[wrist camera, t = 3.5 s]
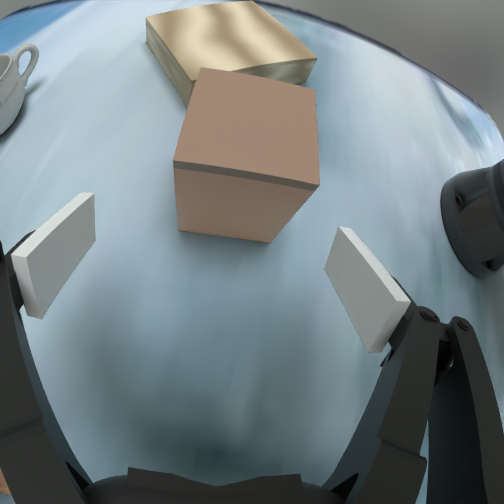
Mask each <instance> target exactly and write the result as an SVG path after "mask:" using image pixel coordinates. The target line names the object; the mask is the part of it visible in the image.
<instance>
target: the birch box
mask: <svg viewBox="0 0 504 504" xmlns="http://www.w3.org/2000/svg"><path fill="white" fill-rule="evenodd" d="M146 38H147V44H148V45H149V47H150V48H151V50H152V51H153V53H154V55H155V56H156V58H157V59H158V61H159V62H160V64H161V66H162V67H163V69H164V70H165V72H166V74H167V75H168V77H169V78H170V80H171V81H172V83H173V85H174V86H175V88H176V89H177V91H178V93H179V94H180V96H181V97H182V99H183V101H184V102H185V104H186V106H187V107H188V105H189V102H190V99H191V96H192V92H193V89H194V86H195V83H196V80H197V77H198V74H199V71H200V68H201V67H202V68H210V69H218V70H225V71H231V72H237V73H243V74H249V75H254V76H259V77H264V78H269V79H273V80H278V81H282V82H286V83H290V84H299V83H304V82H306V80H307V78H308V76H309V74H310V72H311V70H312V68H313V66H314V64H315V62H316V60H317V57H316V56H315V55H314V54H313V53H312V52H311V51H310V50H309V49H308V48H307V47H306V46H305V45H304V44H303V43H302V42H301V41H300V40H299V39H298V38H296V37H295V36H294V35H293V34H292V33H291V32H290V31H289V30H287V29H286V28H285V27H284V26H283V25H282V24H281V23H279V22H278V21H277V20H276V19H275V18H273V17H272V16H271V15H270V14H268V13H267V12H266V11H265V10H263V9H262V8H261V7H260V6H258V5H257V4H256V3H254V2H253V1H240V2H228V3H219V4H211V5H203V6H197V7H191V8H185V9H179V10H174V11H170V12H165V13H160V14H156V15H152V16H148V17H146Z"/></svg>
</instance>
